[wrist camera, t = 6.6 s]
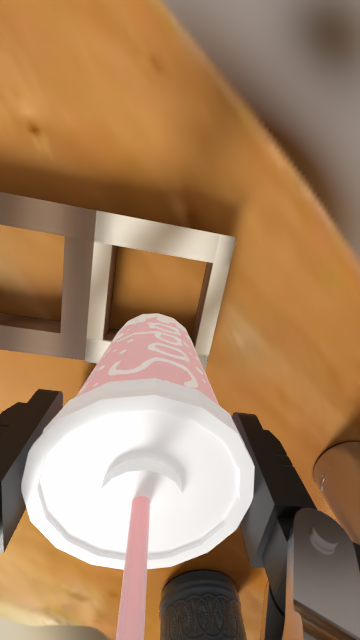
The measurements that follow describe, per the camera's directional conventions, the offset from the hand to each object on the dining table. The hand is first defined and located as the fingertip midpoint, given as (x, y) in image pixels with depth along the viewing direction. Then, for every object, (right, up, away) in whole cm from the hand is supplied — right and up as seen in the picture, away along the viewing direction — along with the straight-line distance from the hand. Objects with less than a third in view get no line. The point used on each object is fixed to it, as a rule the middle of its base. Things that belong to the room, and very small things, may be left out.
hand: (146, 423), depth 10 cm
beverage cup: (0, +2, +6) cm, 6 cm away
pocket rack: (-8, +7, +18) cm, 20 cm away
